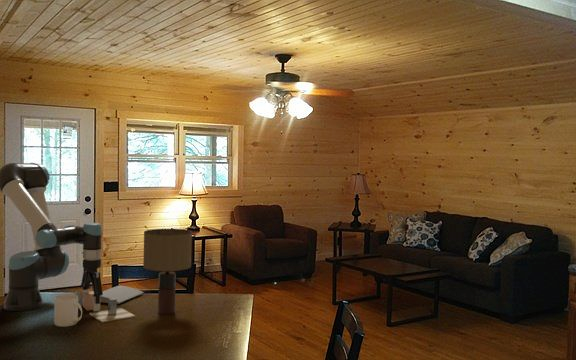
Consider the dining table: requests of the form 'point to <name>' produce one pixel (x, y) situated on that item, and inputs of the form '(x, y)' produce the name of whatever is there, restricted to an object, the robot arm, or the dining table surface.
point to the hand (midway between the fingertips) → (91, 307)
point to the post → (112, 306)
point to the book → (119, 294)
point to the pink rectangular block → (88, 300)
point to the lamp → (167, 261)
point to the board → (105, 317)
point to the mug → (66, 310)
